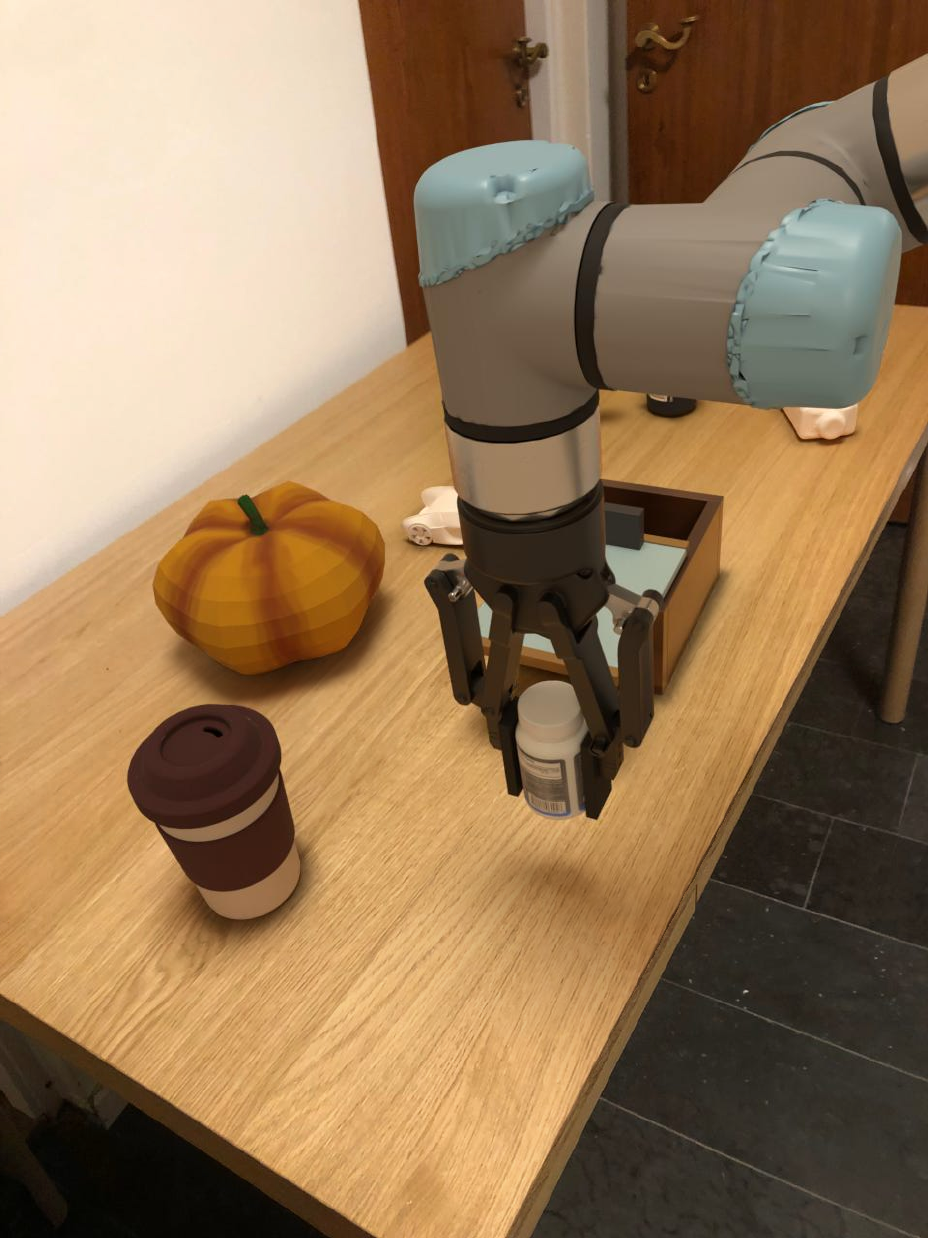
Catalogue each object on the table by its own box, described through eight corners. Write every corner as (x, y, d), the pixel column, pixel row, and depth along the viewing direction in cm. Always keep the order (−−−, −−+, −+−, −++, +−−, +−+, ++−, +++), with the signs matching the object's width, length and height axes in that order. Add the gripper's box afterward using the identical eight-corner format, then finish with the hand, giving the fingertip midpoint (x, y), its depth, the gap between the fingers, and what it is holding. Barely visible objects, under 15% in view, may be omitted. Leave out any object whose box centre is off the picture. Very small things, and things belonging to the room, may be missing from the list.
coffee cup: (202, 962, 66) (129, 821, 57) (175, 859, 74) (108, 719, 64) (336, 903, 69) (288, 758, 59) (298, 809, 76) (250, 668, 67)
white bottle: (802, 448, 110) (806, 415, 107) (772, 399, 120) (775, 367, 117) (860, 442, 110) (865, 408, 107) (824, 393, 120) (829, 361, 117)
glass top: (689, 550, 81) (690, 507, 79) (617, 687, 69) (616, 641, 67) (545, 526, 87) (542, 485, 84) (455, 648, 75) (448, 605, 72)
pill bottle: (574, 758, 65) (566, 665, 60) (609, 804, 62) (604, 710, 57) (511, 785, 64) (498, 693, 59) (544, 833, 61) (533, 740, 55)
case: (719, 575, 93) (724, 495, 88) (662, 695, 81) (663, 612, 76) (584, 551, 99) (580, 475, 94) (512, 659, 87) (503, 580, 82)
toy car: (401, 544, 104) (394, 509, 101) (426, 505, 110) (420, 471, 107) (562, 559, 98) (559, 522, 96) (580, 518, 104) (578, 482, 101)
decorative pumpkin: (145, 697, 89) (87, 566, 80) (240, 560, 106) (201, 438, 96) (349, 714, 84) (312, 576, 75) (415, 567, 100) (392, 439, 91)
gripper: (724, 468, 47) (710, 786, 61) (412, 430, 55) (464, 722, 69) (679, 552, 42) (675, 877, 56) (342, 498, 50) (414, 797, 64)
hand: (559, 791), depth 63 cm, fingers closed on pill bottle, 5 cm apart
